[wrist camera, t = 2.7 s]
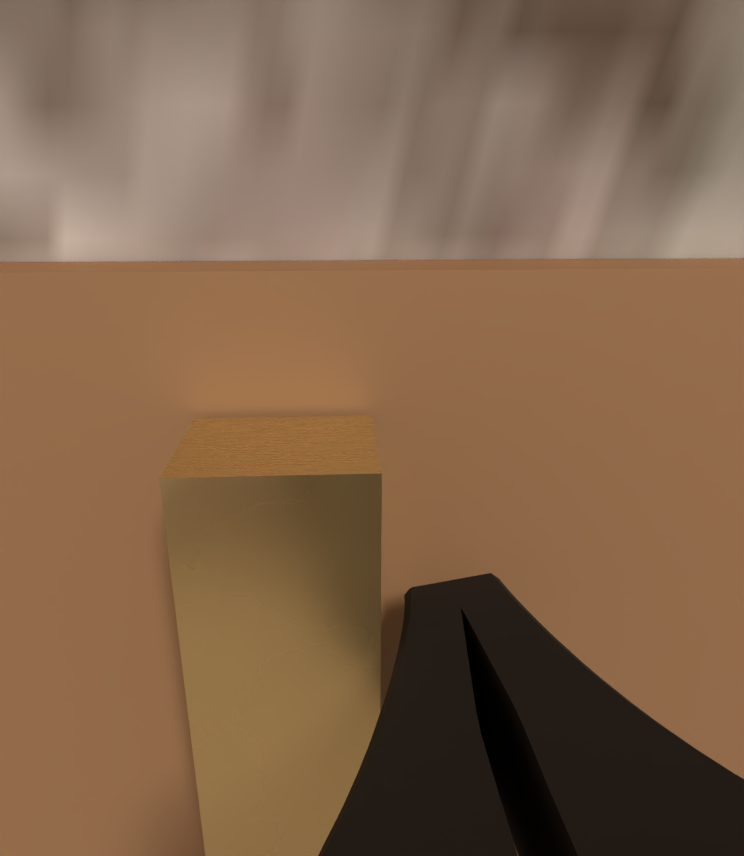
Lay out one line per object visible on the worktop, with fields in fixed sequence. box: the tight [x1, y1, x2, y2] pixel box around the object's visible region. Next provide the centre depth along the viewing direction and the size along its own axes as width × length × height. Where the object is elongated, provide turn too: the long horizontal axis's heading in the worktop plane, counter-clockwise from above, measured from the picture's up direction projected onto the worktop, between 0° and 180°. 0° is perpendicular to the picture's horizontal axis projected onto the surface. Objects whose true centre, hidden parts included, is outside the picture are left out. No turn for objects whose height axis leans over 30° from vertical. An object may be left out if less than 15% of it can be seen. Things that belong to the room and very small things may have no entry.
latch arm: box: [159, 415, 382, 856], centre depth 10 cm, size 12×3×2 cm, turn 0°
